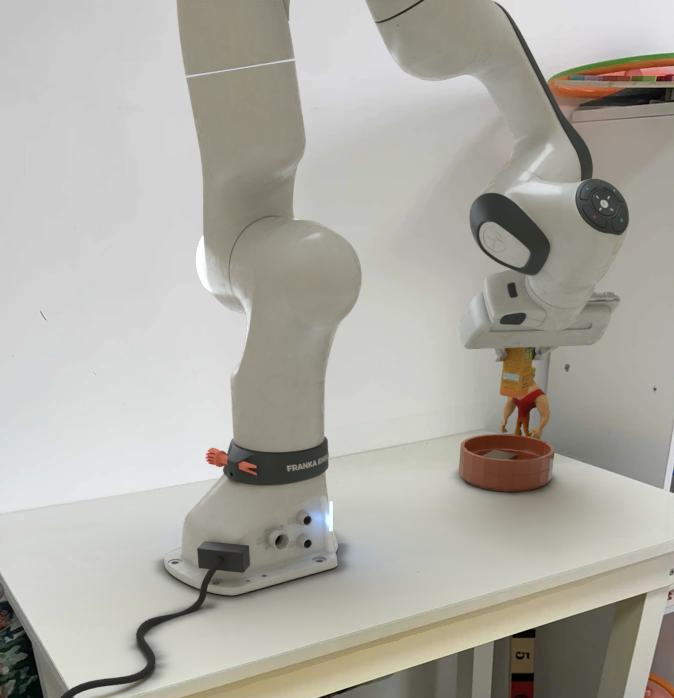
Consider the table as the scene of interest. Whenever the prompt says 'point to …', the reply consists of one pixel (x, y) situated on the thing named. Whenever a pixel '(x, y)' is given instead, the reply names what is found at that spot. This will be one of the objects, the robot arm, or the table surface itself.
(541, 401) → the action figure
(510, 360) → the supplement box
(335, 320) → the robot arm
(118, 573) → the table surface
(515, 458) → the block
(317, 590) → the table surface
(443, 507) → the table surface
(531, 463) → the bowl
